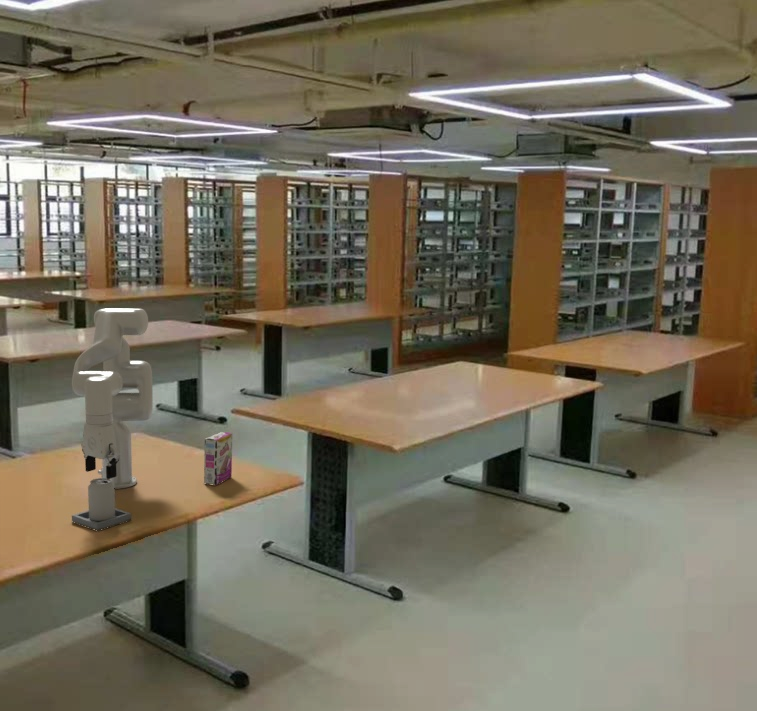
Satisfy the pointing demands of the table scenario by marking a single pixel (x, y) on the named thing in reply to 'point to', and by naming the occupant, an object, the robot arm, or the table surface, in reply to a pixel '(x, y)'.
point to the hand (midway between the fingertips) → (101, 474)
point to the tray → (117, 519)
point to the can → (101, 499)
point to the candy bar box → (218, 458)
